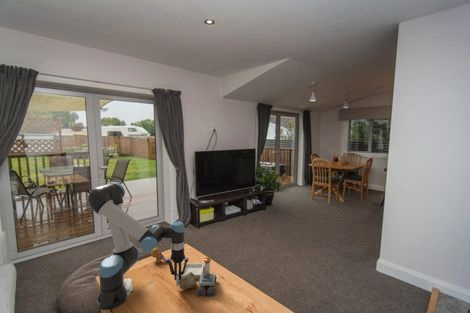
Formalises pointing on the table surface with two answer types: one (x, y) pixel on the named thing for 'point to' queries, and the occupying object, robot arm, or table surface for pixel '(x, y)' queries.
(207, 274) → the pin
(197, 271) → the tray
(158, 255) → the toy
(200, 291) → the trolley
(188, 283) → the rock
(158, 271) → the table surface
